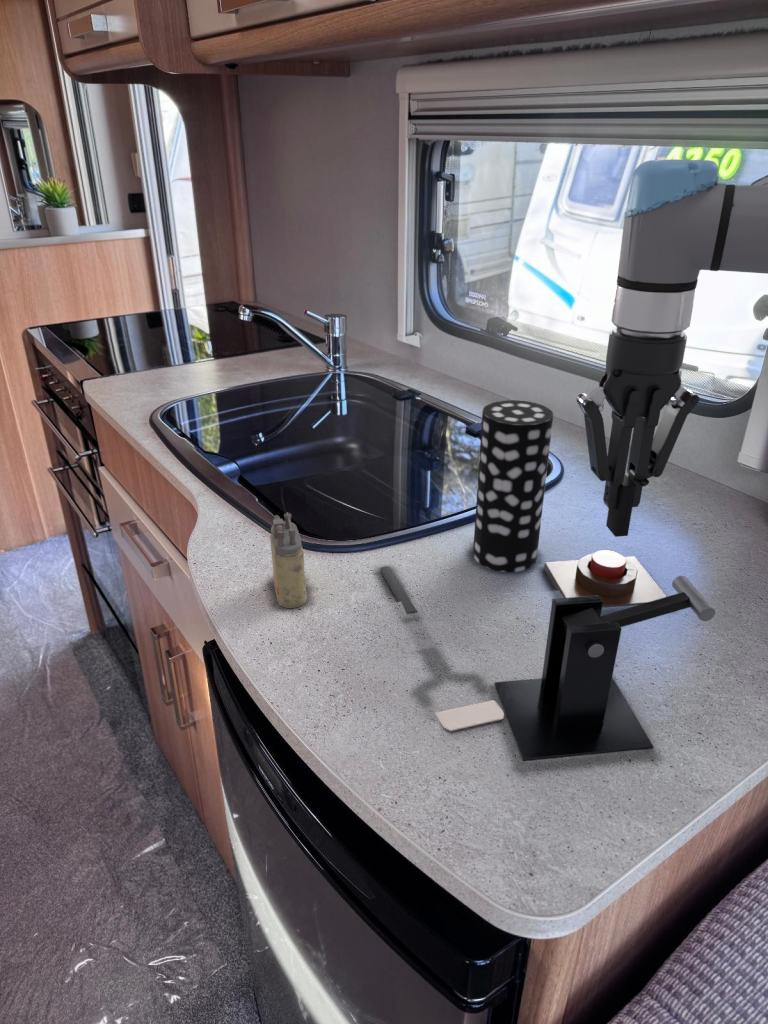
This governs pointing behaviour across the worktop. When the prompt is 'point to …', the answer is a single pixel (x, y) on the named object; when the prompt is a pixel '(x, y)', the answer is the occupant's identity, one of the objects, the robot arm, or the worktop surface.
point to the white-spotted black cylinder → (511, 484)
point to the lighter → (288, 563)
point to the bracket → (573, 693)
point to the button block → (604, 582)
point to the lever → (649, 608)
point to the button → (608, 564)
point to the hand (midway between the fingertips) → (616, 530)
